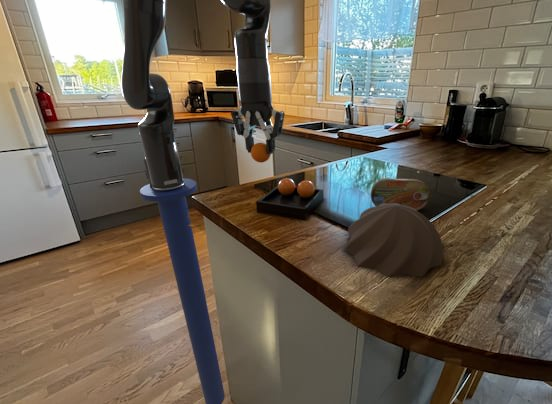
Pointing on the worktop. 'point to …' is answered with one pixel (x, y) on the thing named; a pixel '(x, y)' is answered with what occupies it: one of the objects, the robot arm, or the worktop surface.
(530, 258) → the worktop surface
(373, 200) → the tin
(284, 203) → the tray
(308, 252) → the worktop surface
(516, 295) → the worktop surface
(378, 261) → the decorative dome
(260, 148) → the clementine
